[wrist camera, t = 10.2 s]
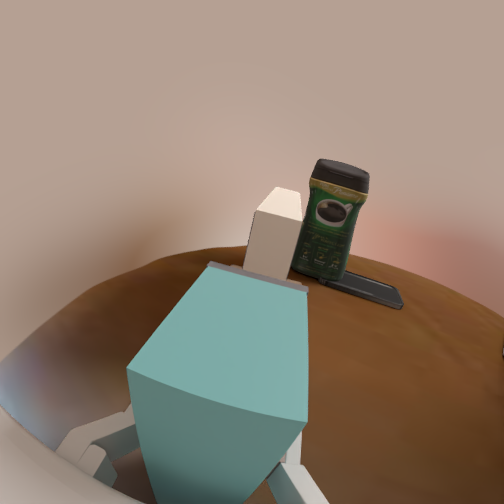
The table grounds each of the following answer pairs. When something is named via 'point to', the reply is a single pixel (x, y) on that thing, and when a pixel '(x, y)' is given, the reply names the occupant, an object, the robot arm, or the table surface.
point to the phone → (367, 289)
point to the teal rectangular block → (222, 386)
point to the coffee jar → (330, 219)
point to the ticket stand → (274, 235)
